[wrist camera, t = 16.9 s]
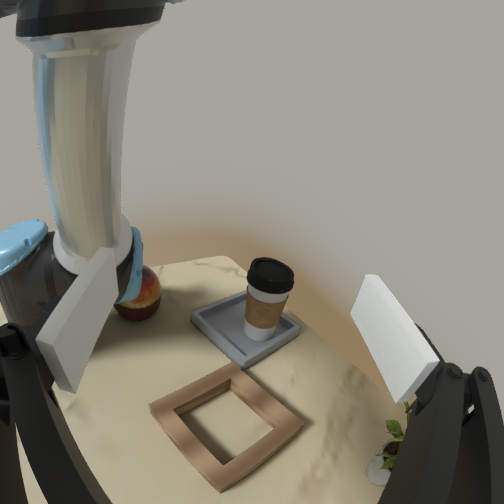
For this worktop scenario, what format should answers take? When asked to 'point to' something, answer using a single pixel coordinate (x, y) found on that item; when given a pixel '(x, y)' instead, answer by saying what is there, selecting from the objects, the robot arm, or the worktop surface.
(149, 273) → the vase
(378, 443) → the worktop surface
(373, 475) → the house plant
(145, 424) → the worktop surface
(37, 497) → the worktop surface
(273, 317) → the coffee cup
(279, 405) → the square wooden frame
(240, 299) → the tray
